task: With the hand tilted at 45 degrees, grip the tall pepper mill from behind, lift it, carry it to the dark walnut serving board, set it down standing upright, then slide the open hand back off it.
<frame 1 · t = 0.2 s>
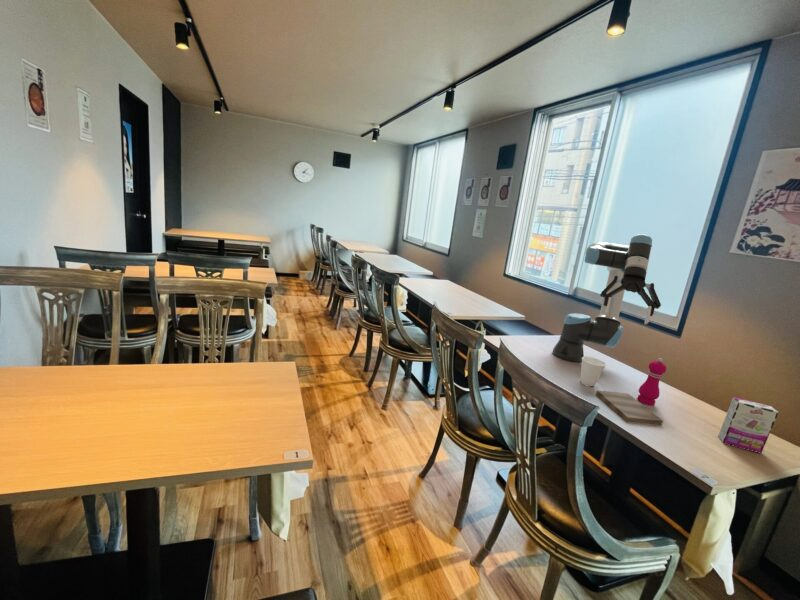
hand: (625, 318, 140), 36 cm above the table, tool tilted 35°, fingers open, 13 cm apart
pepper mill: (645, 402, 155), on the table
candy bar box: (738, 445, 131), on the table
cup: (587, 384, 165), on the table
serving board: (626, 409, 146), on the table
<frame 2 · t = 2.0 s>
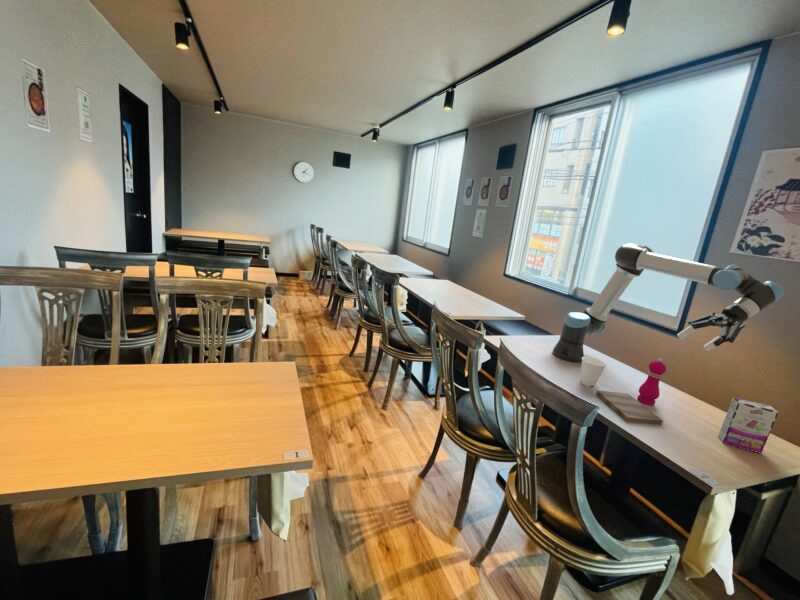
hand: (691, 342, 148), 28 cm above the table, tool tilted 45°, fingers open, 13 cm apart
nothing on the table moved.
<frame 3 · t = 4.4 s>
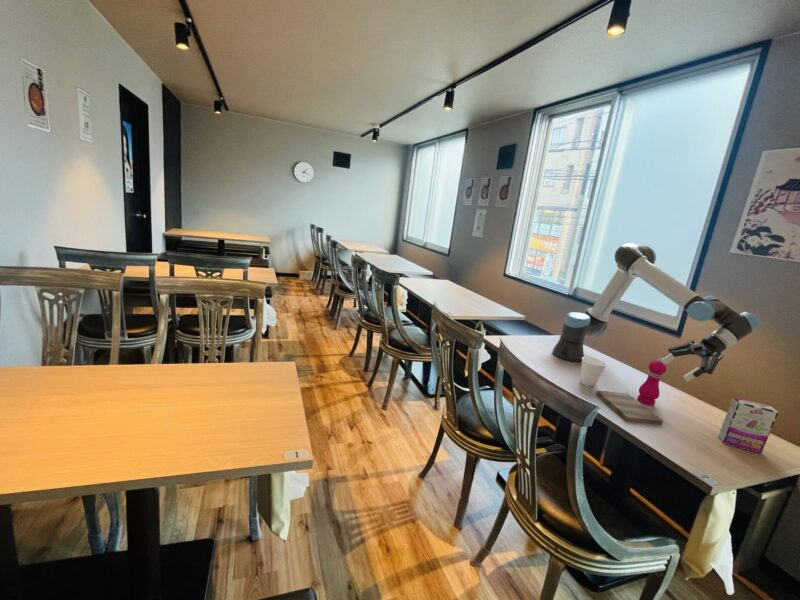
hand: (671, 371, 150), 15 cm above the table, tool tilted 45°, fingers open, 13 cm apart
nothing on the table moved.
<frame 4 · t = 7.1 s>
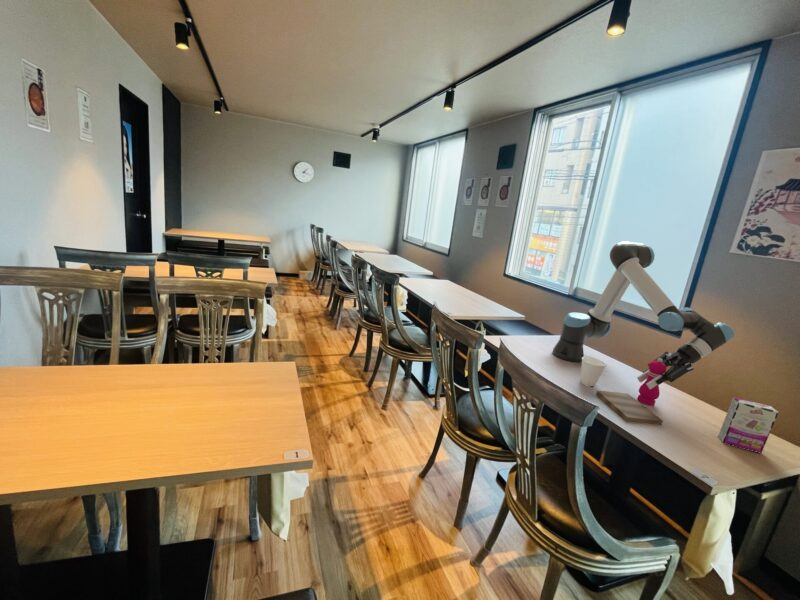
hand: (643, 383, 152), 8 cm above the table, tool tilted 45°, fingers closed on pepper mill, 5 cm apart
pepper mill: (645, 402, 155), on the table, touching gripper
everything else where it was.
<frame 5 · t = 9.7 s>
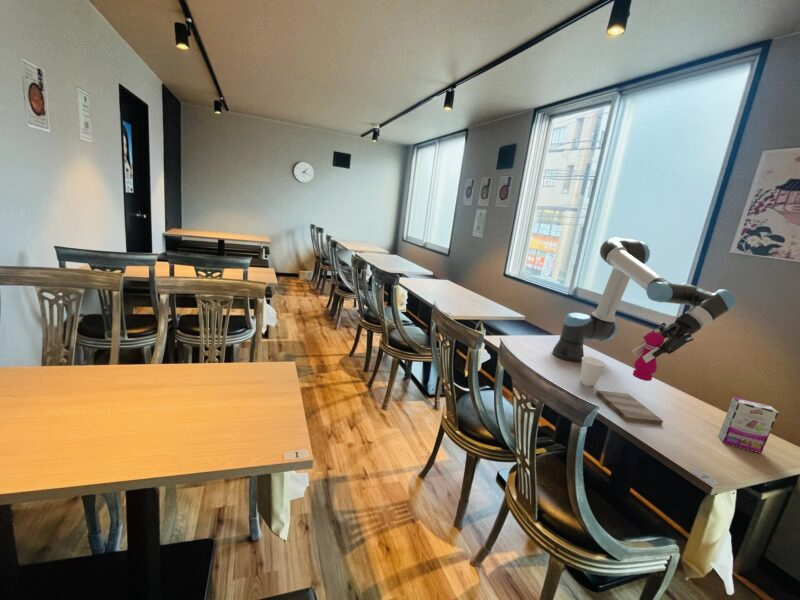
hand: (639, 356, 140), 22 cm above the table, tool tilted 45°, fingers closed on pepper mill, 5 cm apart
pepper mill: (641, 377, 143), point 14 cm above the table, touching gripper
everything else where it was.
when the fingers open (10 cm above the table, at t = 12.5 s): pepper mill stays where it is, resting on serving board.
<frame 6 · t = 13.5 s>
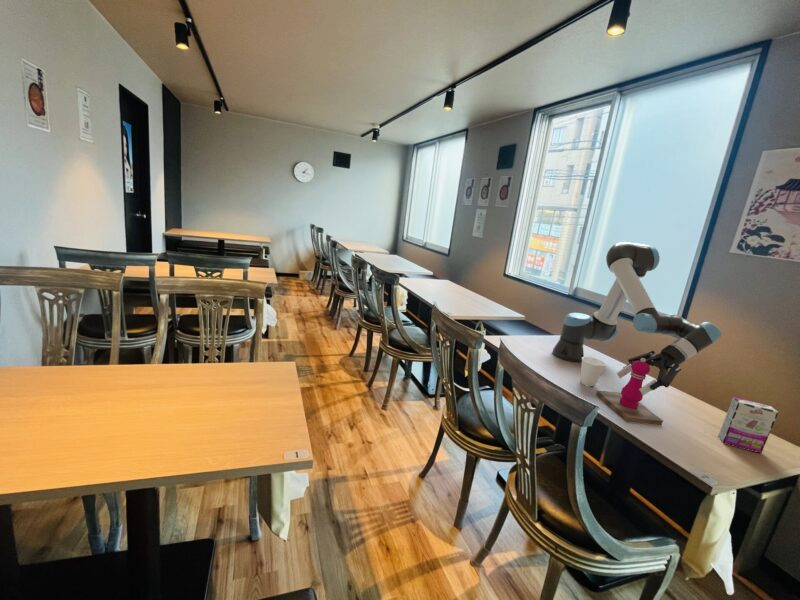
hand: (629, 383, 143), 11 cm above the table, tool tilted 45°, fingers open, 13 cm apart
pepper mill: (628, 405, 145), point 2 cm above the table, touching serving board
everything else where it was.
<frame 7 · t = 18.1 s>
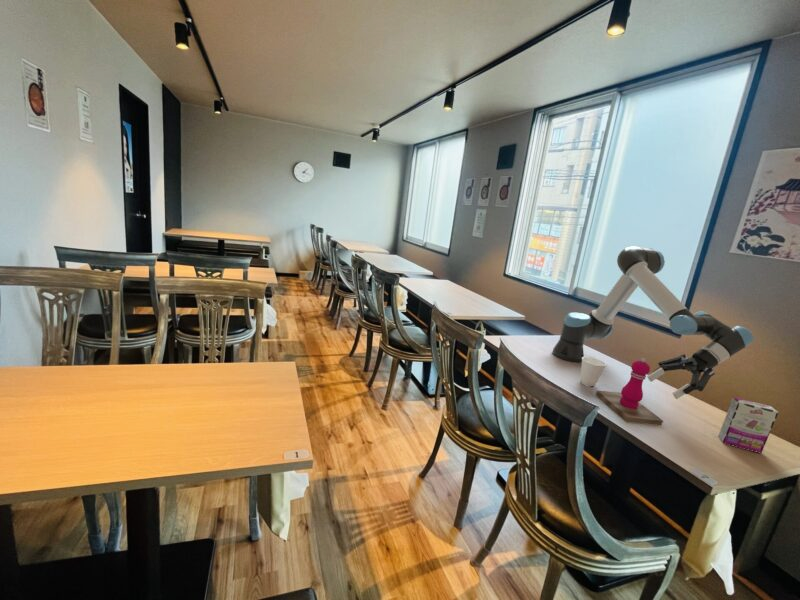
hand: (661, 387, 144), 11 cm above the table, tool tilted 45°, fingers open, 13 cm apart
nothing on the table moved.
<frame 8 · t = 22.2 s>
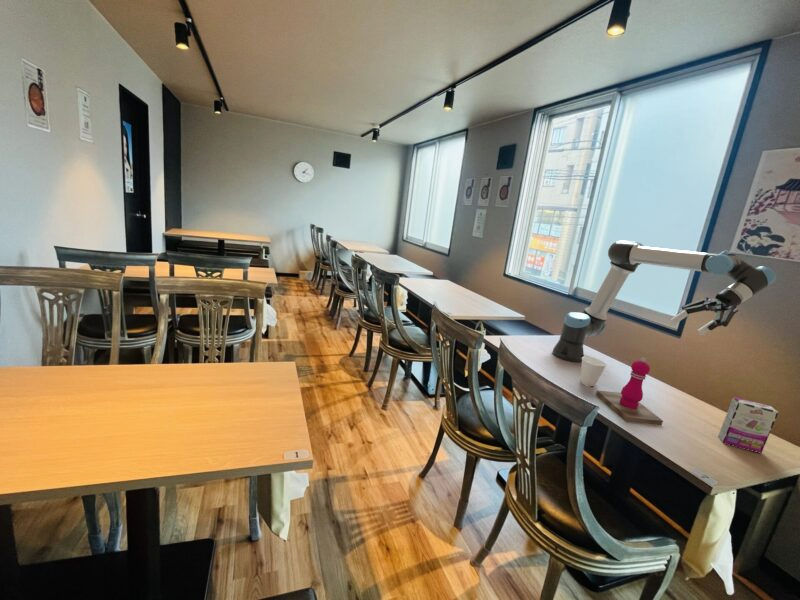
hand: (685, 327, 149), 34 cm above the table, tool tilted 45°, fingers open, 13 cm apart
nothing on the table moved.
at the end: pepper mill inside the target area on the serving board (0.1 cm from its centre), point 1.8 cm above the serving board's base; pepper mill tilted 0°; the gripper is holding nothing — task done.
